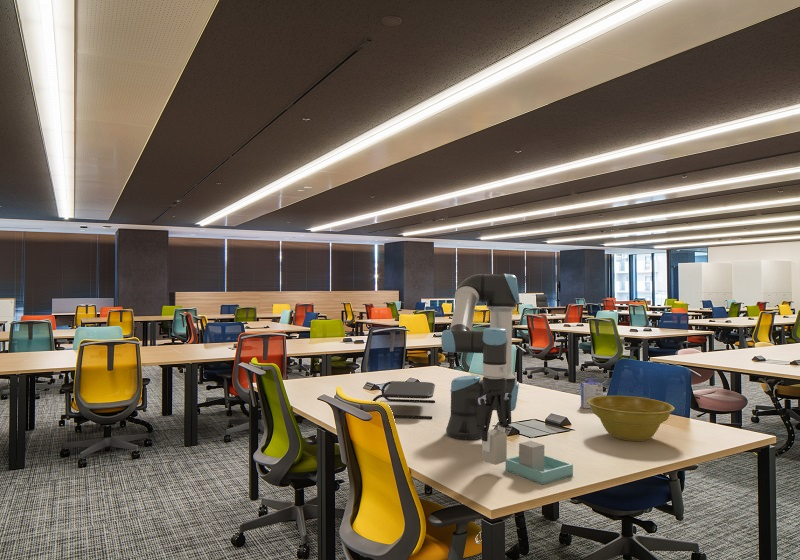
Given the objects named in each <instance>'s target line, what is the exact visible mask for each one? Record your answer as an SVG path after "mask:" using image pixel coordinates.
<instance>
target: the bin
mask: <svg viewBox="0 0 800 560" xmlns="http://www.w3.org/2000/svg"><path fill="white" fill-rule="evenodd" d="M505 471H506V472H510V473H512V474H514V475H518V476H520V477H522V478H524V479H528V480H530V481H532V482H535V483H538V484H540V485H545V484H549V483H554V482H556V481H559V480H562V479H567V478H570V477H572V476H574V464H573V463H570V462H567V461H565V460H560V459H558V458H555V457H551V456H548V455H546V454H544V471H543V472H542V471H539V470H536V469H533V468H531V467H528V466H525V465H522V464H520V463H519V455H518V456H513V457H509V458H507V461H506V462H505Z"/></svg>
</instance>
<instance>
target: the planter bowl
mask: <svg viewBox="0 0 800 560" xmlns="http://www.w3.org/2000/svg"><path fill="white" fill-rule="evenodd" d="M587 402H588V403H589V404H590V406H591V408H590V409H591V411H592V413H593V414H594V415H595V416H596V417H597V418H598V419H599V420H600V422H601V424H602V426H603V428H604V429H605V431H606V433H608V434H609V435H610V436H612V437H614V438H615V439H620V440H625V441H631V442H643V441H647V440H649V439H651V438H653V437H654V436H655V434H656V433H657V431H658V429H659V428H660V425H662V424H663V423H664V422H666V421H668V419H669V417H670V416H671V415H670V414H671V413H672V412H673V411H674V410H675V408H676V407H674V406H673V405H672V404H670V403H669V402H665V401H662V400H657V399H652V398H647V397H641V396H640V397H639V396H631V395H630V396H628V395H603V396H599V397H593V398H590V399H588V400H587Z"/></svg>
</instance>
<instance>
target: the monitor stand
mask: <svg viewBox="0 0 800 560" xmlns="http://www.w3.org/2000/svg"><path fill="white" fill-rule="evenodd" d="M387 386H388V387H387ZM435 388H436V384H435V383H433V382H428V381H404V380H403V381H401V380H399V381H397V380H391V381H388V382H386V383H385V384H384V385H382V387H381V394H378V395H376V396H375V397H374V398H373V399H372V401H375V402H376V401H377V400H379V399H380V398H384V399H385V400H386V401H387V402H396V403H400V402H401V403H403V402H404V403H426V404H428V403H429V404H434V403H436V400H435V399H431V398H433V397H434V392H435ZM393 415H394V418H393V419H415V420H433V416H432V415H408V414H406V415H405V414H393Z"/></svg>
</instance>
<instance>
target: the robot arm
mask: <svg viewBox="0 0 800 560" xmlns="http://www.w3.org/2000/svg"><path fill="white" fill-rule="evenodd" d="M518 287H519V285H518V279H517V276H516V275H514V274H510V273H477V274H473V275H470V276H468V277H467V278H465V279H464V280H463V281H462V282H460V283H459V285H458V286H457V287H456V290H455V293H454V300H455V306H454V310H453V313H452V319H451V324H450V328H449V329H445V330H443V331H442V332H441V337H440V338H441V340H440V341H441V349H442V351H444V352H445V353H446V352H447V353H453V354H454V353H463V354H466V353H470V354H482V376H483V377H482V379H481V377H480V376H479V375H464V376H463V375H462V376H458V377H455V378H453V379H452V380H451V381H450V382H451V383H450V385H451V386H450V415H449V416H450V417H449V419H448V423H447V426H446V429H445V435H446V436H447V437H450V438H453V439H455V440H463V441H464V440H467V441H471V440H479V439H481V441H482V440H483V450H484V451H487V452H490V445H491V431H489V430H490V425H491V420H492V416H493V411H496V414H497V415H496V416H497V419H498V423H499V425H498V426H497V430H498V431H502V432H505V433H507V429H509V428H510V425H511V424H512V412H513V411H515V410H516V407H517V401H518V394H519V388H520V387H519V386H520V382H519V381H517V380H516V376H515V375H514V374H513V372H512V371H513V370H512V366H513V365H512V359H513V357H512V354H513V352H512V351H513V350H512V349H513V348H512V347H513V346H512V345H513V343H512V342H513V341H512V340H513V311H515V310H516V308H517V304H520V295H519V288H518ZM478 303H482V304H484V303H485V304H486V309H487V310H489V315H490V316H489V318H490V319H489V327H486V328H484V329H483V330H473V329H472V328H473V322H474V315H475V311H476V305H477V304H478Z"/></svg>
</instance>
